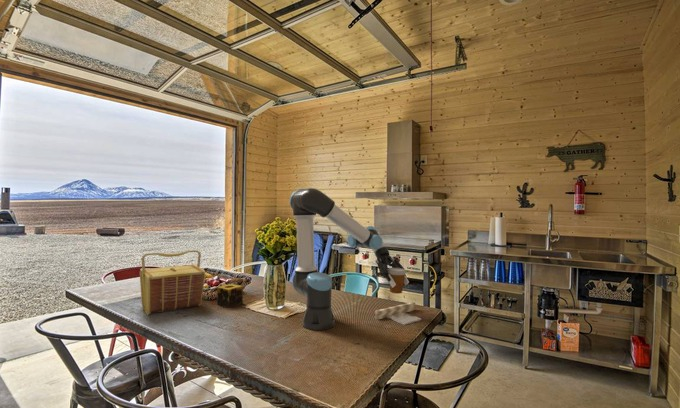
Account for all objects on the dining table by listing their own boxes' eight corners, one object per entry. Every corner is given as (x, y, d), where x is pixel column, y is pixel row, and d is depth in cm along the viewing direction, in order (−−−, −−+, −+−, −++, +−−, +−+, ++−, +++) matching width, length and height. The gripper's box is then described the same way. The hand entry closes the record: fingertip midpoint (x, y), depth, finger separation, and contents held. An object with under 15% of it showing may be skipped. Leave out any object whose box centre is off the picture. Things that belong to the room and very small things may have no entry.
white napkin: (404, 325, 155) (404, 323, 155) (386, 317, 164) (386, 315, 164) (421, 320, 162) (421, 318, 162) (403, 313, 171) (403, 311, 171)
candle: (243, 303, 184) (243, 285, 184) (228, 308, 176) (228, 289, 176) (231, 300, 190) (231, 283, 190) (216, 304, 181) (216, 286, 181)
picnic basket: (144, 319, 156) (145, 256, 156) (136, 305, 176) (137, 250, 176) (206, 308, 175) (208, 252, 175) (193, 297, 195) (194, 247, 195)
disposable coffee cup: (406, 294, 166) (407, 271, 166) (388, 294, 166) (389, 270, 166) (403, 289, 176) (403, 267, 175) (385, 289, 176) (386, 267, 175)
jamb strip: (377, 319, 161) (377, 311, 161) (374, 318, 163) (374, 310, 163) (415, 310, 178) (415, 302, 178) (412, 309, 179) (412, 301, 179)
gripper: (390, 253, 190) (410, 286, 177) (362, 255, 176) (381, 291, 164) (397, 245, 185) (418, 278, 173) (369, 247, 172) (389, 283, 159)
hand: (400, 285), depth 168 cm, fingers closed on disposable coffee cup, 9 cm apart
